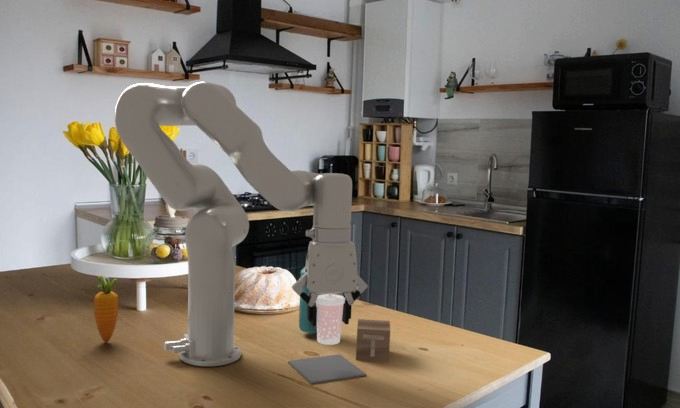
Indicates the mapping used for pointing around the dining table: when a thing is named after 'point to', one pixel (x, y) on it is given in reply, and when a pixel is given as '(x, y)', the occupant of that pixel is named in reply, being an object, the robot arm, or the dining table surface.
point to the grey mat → (326, 369)
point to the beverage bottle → (305, 311)
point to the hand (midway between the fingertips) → (329, 322)
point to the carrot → (106, 309)
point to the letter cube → (373, 340)
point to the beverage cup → (329, 318)
